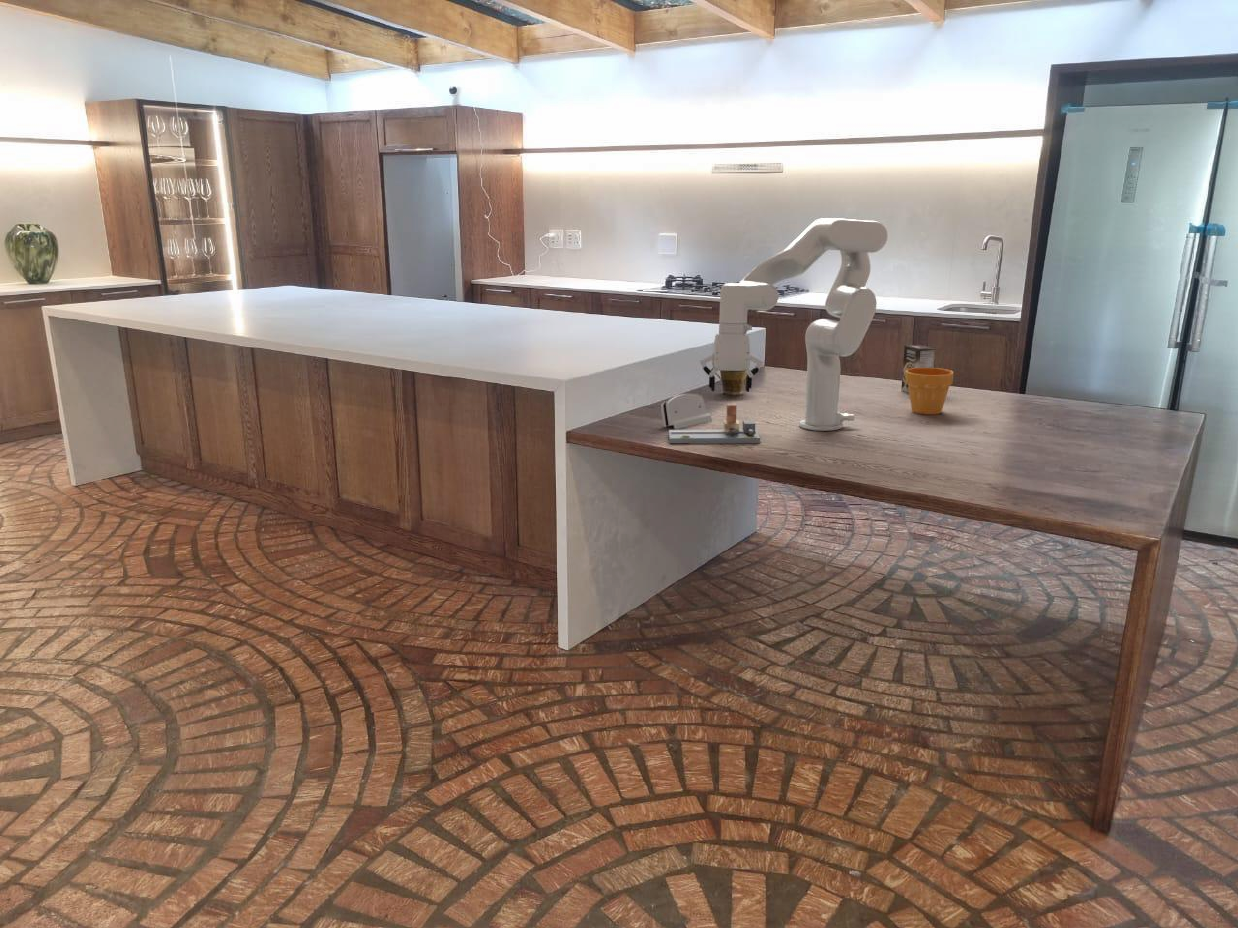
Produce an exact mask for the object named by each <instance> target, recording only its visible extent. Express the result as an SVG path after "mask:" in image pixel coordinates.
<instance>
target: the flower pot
mask: <svg viewBox="0 0 1238 928" xmlns="http://www.w3.org/2000/svg"><path fill="white" fill-rule="evenodd" d="M905 381H906V383H907V384H908V387H909V393H908V394H909V400H910V406H911V412H913V413H914V414H919V415H921V414H922V415H938V414H941V413H942V411H943V408H944V406H945V401H946V397H947V395H948V391H949V390H950V389H949V388H950V387H951V386H952V385H953V381H954V371H952V370H951V369H950V370H949V369H945V368H941V367H940V368H939V367H933V368H911V369H908V370H906V377H905Z"/></svg>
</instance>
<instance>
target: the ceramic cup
mask: <svg viewBox="0 0 1238 928" xmlns="http://www.w3.org/2000/svg"><path fill="white" fill-rule="evenodd" d="M719 373H720V375H719V374H718V373H717V372H716V373H715V374H714V375H716V376H717V377H718V379H719V380H720V381H721V384H722V391H723V394H724V393H725V395H728V396H739V395H742V394H744V391H745V384H746V377H747V373H746V372H745V371H722V370H719Z"/></svg>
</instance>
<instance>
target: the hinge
mask: <svg viewBox="0 0 1238 928" xmlns="http://www.w3.org/2000/svg"><path fill="white" fill-rule="evenodd" d="M660 410H661V418H662V423H663V424H662V425H663V428H667V427H671V426H673V429H674V430H681V429H684V428H687V427H688V428H689V427H691V426H695V425H701V424H705V423H708V422H709V423H710V422H713V418H712V415H711V414H710V413H709V412H708V409H707V407H706V404H705V401H704V397H703V396H702V395H700V394H696V393H681V394H677V395H675V396H671V397H670V398H668V399H666V401H664V402H663V403H661V405H660Z"/></svg>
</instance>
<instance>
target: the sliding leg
mask: <svg viewBox="0 0 1238 928" xmlns="http://www.w3.org/2000/svg"><path fill="white" fill-rule="evenodd" d="M722 420H723V421H722V422H723V423H722V429H724V431H725V432H731V436H734V434H735V432H739V429H740V422H739V420H738V419H737V403H735V402H734V403H730V402H729V403H727V402H726V419H722Z"/></svg>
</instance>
